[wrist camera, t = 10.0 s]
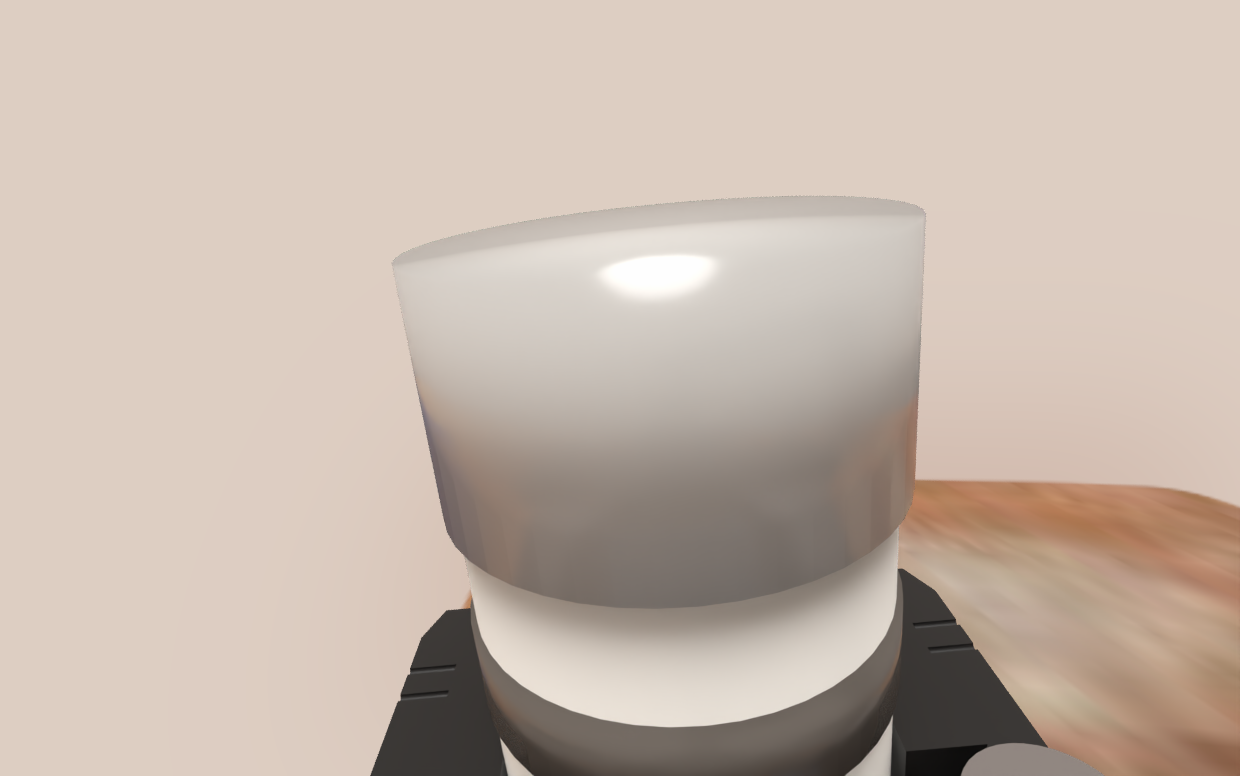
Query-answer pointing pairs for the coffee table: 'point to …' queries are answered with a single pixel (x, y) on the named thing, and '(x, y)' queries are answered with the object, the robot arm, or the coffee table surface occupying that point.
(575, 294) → the fuse
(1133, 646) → the coffee table surface
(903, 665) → the robot arm
